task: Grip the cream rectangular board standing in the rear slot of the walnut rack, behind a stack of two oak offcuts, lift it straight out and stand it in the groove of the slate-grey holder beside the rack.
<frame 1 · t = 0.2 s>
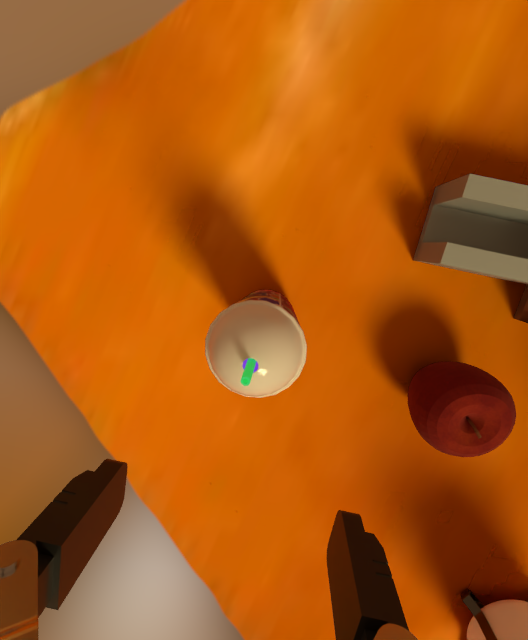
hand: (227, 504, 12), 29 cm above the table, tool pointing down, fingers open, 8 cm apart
holder: (477, 235, 37), on the table
apple: (433, 384, 41), on the table
smoothie: (266, 315, 41), on the table
coffee press: (503, 622, 48), on the table
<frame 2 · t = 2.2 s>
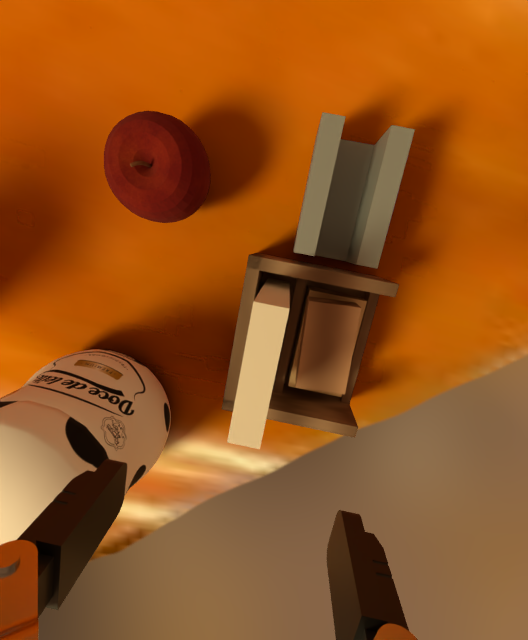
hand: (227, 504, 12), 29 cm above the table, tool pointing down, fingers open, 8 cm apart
holder: (339, 203, 37), on the table
apple: (180, 182, 38), on the table
cream rectangular board: (269, 325, 39), point 1 cm above the table, touching rack
offcut large: (322, 336, 39), point 1 cm above the table, touching offcut small, rack
rack: (301, 330, 40), on the table
offcut small: (324, 340, 36), point 4 cm above the table, touching offcut large
milk container: (116, 402, 45), on the table
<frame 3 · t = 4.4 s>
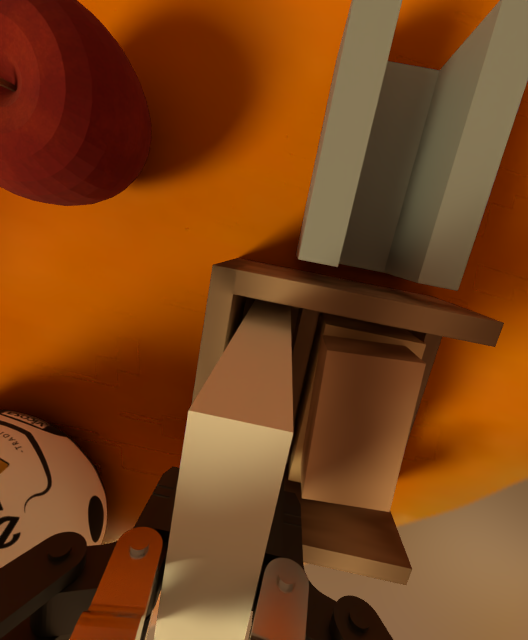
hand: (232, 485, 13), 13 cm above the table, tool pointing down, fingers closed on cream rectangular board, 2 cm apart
holder: (374, 175, 22), on the table
apple: (110, 142, 23), on the table
cream rectangular board: (258, 374, 25), point 1 cm above the table, touching gripper, rack
offcut large: (343, 392, 24), point 1 cm above the table, touching offcut small, rack
rack: (309, 380, 25), on the table
offcut small: (350, 408, 21), point 4 cm above the table, touching offcut large
milk container: (31, 481, 30), on the table
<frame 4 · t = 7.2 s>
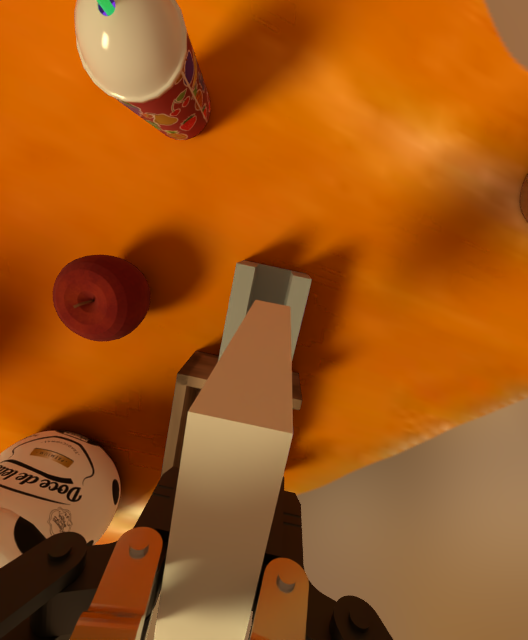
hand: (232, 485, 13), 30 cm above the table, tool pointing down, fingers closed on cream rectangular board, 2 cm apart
holder: (265, 313, 43), on the table
apple: (128, 290, 43), on the table
smoothie: (184, 111, 38), on the table
cream rectangular board: (258, 375, 25), point 19 cm above the table, touching gripper
rack: (235, 415, 46), on the table
milk container: (73, 472, 50), on the table
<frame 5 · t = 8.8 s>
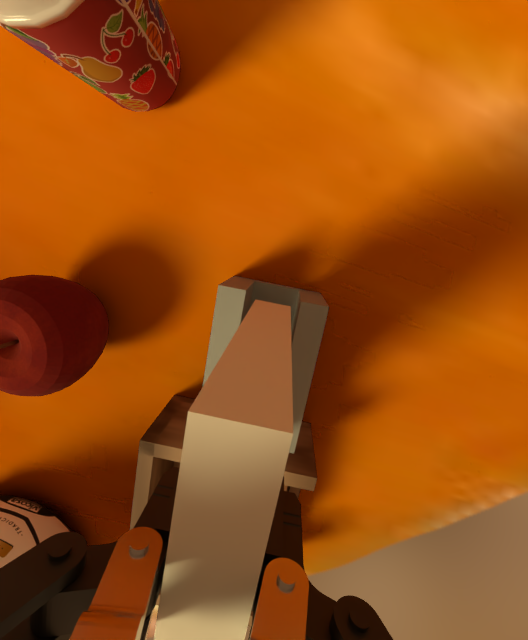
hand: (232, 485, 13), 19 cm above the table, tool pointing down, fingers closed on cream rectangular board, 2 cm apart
holder: (264, 345, 32), on the table
apple: (84, 318, 33), on the table
smoothie: (146, 73, 28), on the table
cream rectangular board: (258, 374, 25), point 7 cm above the table, touching gripper
rack: (229, 476, 35), on the table
milk container: (28, 542, 40), on the table
when the fingers open (14 cm above the table, at t = 10.1 s): cream rectangular board stays where it is, resting on holder.
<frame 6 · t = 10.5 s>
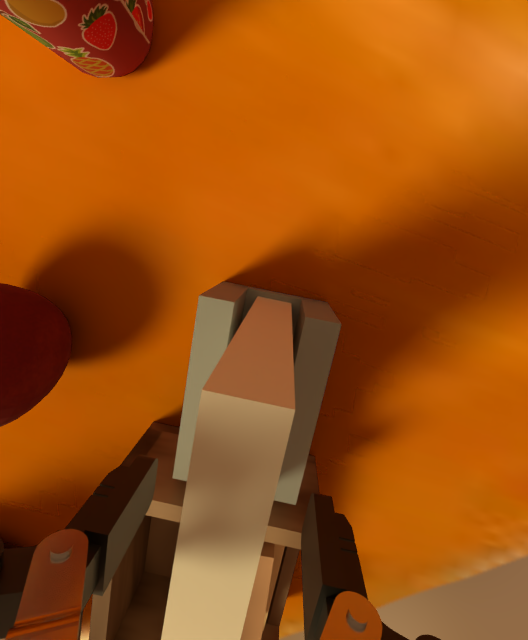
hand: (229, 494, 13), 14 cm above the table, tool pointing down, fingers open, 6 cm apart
holder: (260, 365, 27), on the table
apple: (45, 331, 27), on the table
smoothie: (113, 31, 22), on the table
cream rectangular board: (260, 369, 26), point 1 cm above the table, touching holder
offcut large: (244, 531, 29), point 1 cm above the table, touching offcut small, rack
rack: (218, 516, 30), on the table
offcut small: (235, 563, 25), point 4 cm above the table, touching offcut large
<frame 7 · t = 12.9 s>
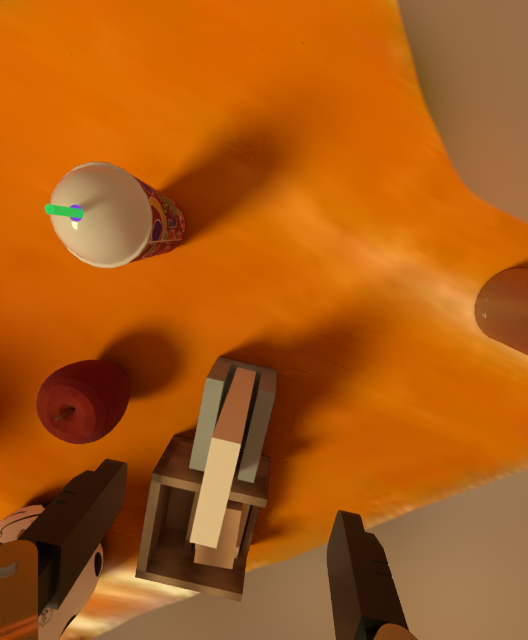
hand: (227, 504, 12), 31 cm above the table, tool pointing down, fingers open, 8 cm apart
holder: (238, 403, 45), on the table
apple: (110, 380, 46), on the table
smoothie: (161, 225, 41), on the table
cream rectangular board: (238, 406, 45), point 1 cm above the table, touching holder
rack: (211, 492, 49), on the table
offcut small: (221, 518, 44), point 4 cm above the table, touching offcut large
milk container: (59, 538, 53), on the table
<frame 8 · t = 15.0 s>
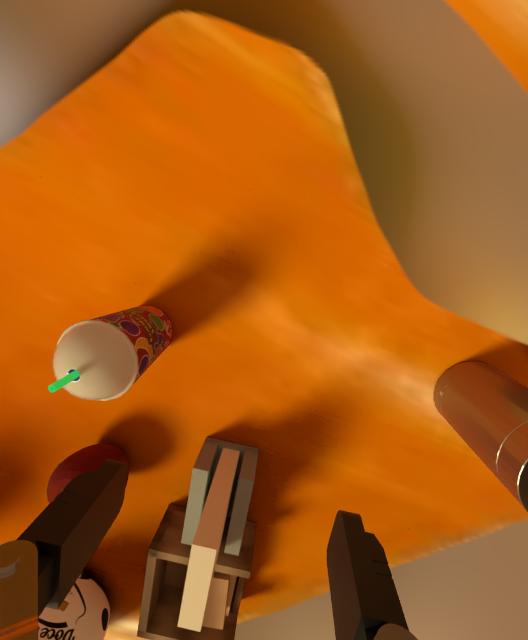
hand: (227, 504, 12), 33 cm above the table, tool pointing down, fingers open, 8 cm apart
holder: (226, 477, 51), on the table
apple: (112, 456, 52), on the table
smoothie: (152, 327, 46), on the table
cream rectangular board: (225, 481, 50), point 1 cm above the table, touching holder
rack: (205, 553, 54), on the table
offcut small: (212, 581, 50), point 4 cm above the table, touching offcut large
milk container: (71, 592, 58), on the table
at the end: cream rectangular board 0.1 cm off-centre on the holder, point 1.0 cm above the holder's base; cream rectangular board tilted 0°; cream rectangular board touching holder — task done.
